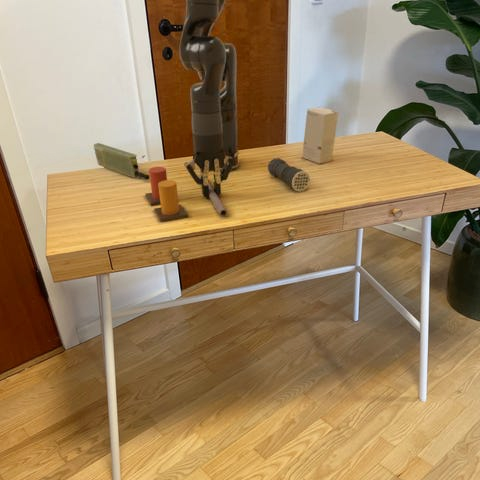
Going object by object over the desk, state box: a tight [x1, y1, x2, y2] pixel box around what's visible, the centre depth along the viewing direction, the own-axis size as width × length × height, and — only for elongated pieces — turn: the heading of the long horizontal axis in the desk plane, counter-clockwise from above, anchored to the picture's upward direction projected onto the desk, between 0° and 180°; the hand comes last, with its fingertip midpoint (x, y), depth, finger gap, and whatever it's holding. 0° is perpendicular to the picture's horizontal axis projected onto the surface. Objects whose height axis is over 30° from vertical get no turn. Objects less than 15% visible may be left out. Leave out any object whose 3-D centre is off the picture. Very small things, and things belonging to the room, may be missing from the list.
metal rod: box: [197, 173, 228, 218], centre depth 124 cm, size 2×27×2 cm, turn 16°
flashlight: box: [267, 157, 311, 192], centre depth 130 cm, size 15×5×5 cm, turn 25°
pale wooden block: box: [301, 106, 339, 165], centre depth 143 cm, size 8×6×15 cm
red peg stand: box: [145, 166, 168, 206], centre depth 122 cm, size 7×7×8 cm
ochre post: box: [153, 179, 189, 223], centre depth 114 cm, size 7×7×8 cm
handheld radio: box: [93, 142, 150, 181], centre depth 140 cm, size 7×3×25 cm
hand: (211, 196), depth 125 cm, fingers closed on metal rod, 2 cm apart
